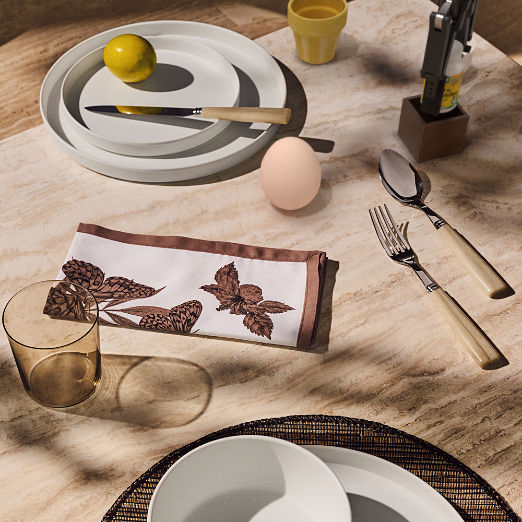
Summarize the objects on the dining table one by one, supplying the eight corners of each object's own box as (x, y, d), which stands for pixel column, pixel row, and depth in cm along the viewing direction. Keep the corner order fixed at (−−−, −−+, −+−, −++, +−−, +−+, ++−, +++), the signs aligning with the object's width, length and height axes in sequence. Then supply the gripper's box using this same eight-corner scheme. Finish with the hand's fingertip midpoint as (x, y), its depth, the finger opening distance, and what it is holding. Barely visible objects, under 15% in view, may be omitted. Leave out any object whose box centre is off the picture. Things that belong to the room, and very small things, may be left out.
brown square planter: (438, 124, 111) (446, 88, 105) (460, 152, 106) (470, 116, 101) (397, 134, 109) (402, 97, 104) (417, 163, 105) (424, 126, 99)
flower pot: (304, 33, 129) (305, -16, 122) (353, 47, 126) (357, -3, 118) (277, 61, 124) (277, 11, 116) (328, 76, 120) (331, 26, 113)
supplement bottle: (452, 91, 103) (464, 34, 96) (460, 113, 100) (473, 55, 93) (416, 93, 103) (426, 36, 96) (423, 115, 100) (434, 57, 93)
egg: (294, 233, 96) (295, 172, 87) (248, 205, 100) (245, 145, 91) (331, 199, 100) (336, 138, 91) (286, 174, 104) (286, 113, 95)
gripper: (467, -89, 90) (439, 63, 108) (408, -31, 80) (388, 127, 98) (523, -78, 87) (484, 77, 105) (469, -15, 78) (436, 144, 95)
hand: (438, 101), depth 102 cm, fingers closed on supplement bottle, 5 cm apart
